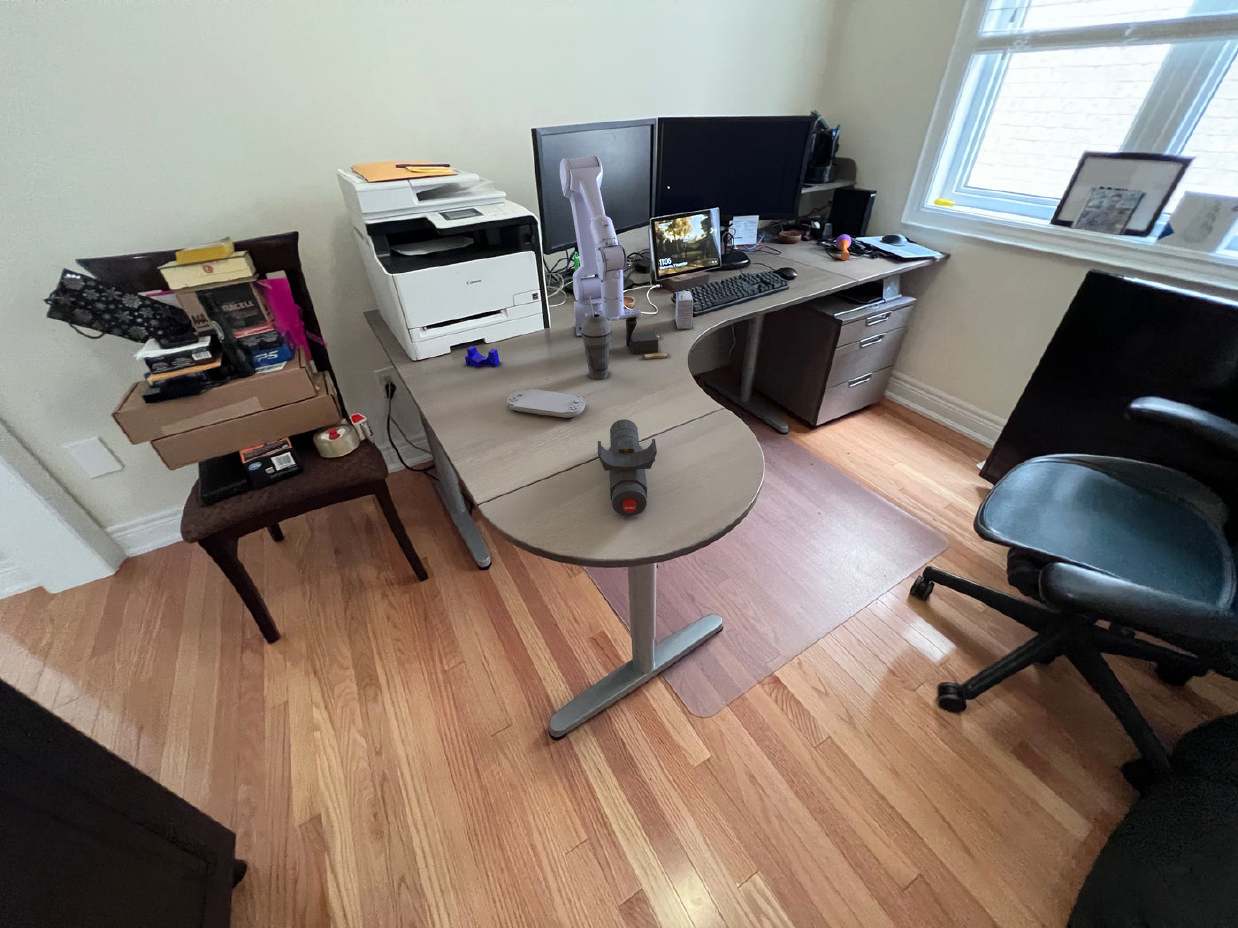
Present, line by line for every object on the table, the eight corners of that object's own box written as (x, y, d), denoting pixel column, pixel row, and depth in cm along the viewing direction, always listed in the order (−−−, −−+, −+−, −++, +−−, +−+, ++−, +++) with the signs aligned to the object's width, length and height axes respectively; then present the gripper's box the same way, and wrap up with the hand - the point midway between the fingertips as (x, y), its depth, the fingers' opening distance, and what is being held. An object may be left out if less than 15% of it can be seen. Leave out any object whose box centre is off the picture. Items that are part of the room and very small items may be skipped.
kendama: (837, 250, 194) (835, 233, 209) (836, 265, 198) (835, 248, 212) (854, 247, 192) (851, 231, 206) (853, 263, 196) (850, 246, 210)
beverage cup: (609, 383, 121) (606, 302, 108) (581, 380, 122) (574, 300, 110) (615, 369, 126) (613, 291, 114) (588, 367, 127) (582, 290, 115)
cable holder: (466, 365, 130) (463, 351, 128) (473, 359, 133) (470, 346, 131) (493, 369, 128) (490, 355, 126) (499, 363, 131) (497, 349, 128)
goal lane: (645, 359, 131) (645, 356, 130) (638, 338, 141) (638, 336, 141) (667, 357, 131) (667, 355, 131) (658, 337, 142) (658, 335, 141)
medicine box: (691, 329, 146) (693, 300, 140) (676, 329, 146) (678, 300, 141) (689, 319, 152) (691, 291, 147) (674, 319, 152) (676, 291, 147)
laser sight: (648, 442, 100) (648, 400, 94) (658, 519, 82) (660, 473, 76) (600, 444, 100) (597, 402, 94) (600, 522, 82) (597, 476, 76)
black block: (632, 353, 133) (632, 341, 131) (629, 344, 138) (629, 332, 136) (658, 352, 134) (658, 339, 132) (654, 343, 139) (654, 331, 136)
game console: (589, 394, 112) (576, 412, 105) (589, 403, 113) (577, 422, 107) (517, 385, 116) (501, 402, 110) (518, 394, 117) (502, 411, 111)
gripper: (585, 303, 123) (588, 353, 131) (642, 299, 124) (642, 349, 132) (583, 293, 128) (587, 342, 136) (638, 290, 129) (638, 339, 137)
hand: (614, 345), depth 135 cm, fingers open, 7 cm apart
